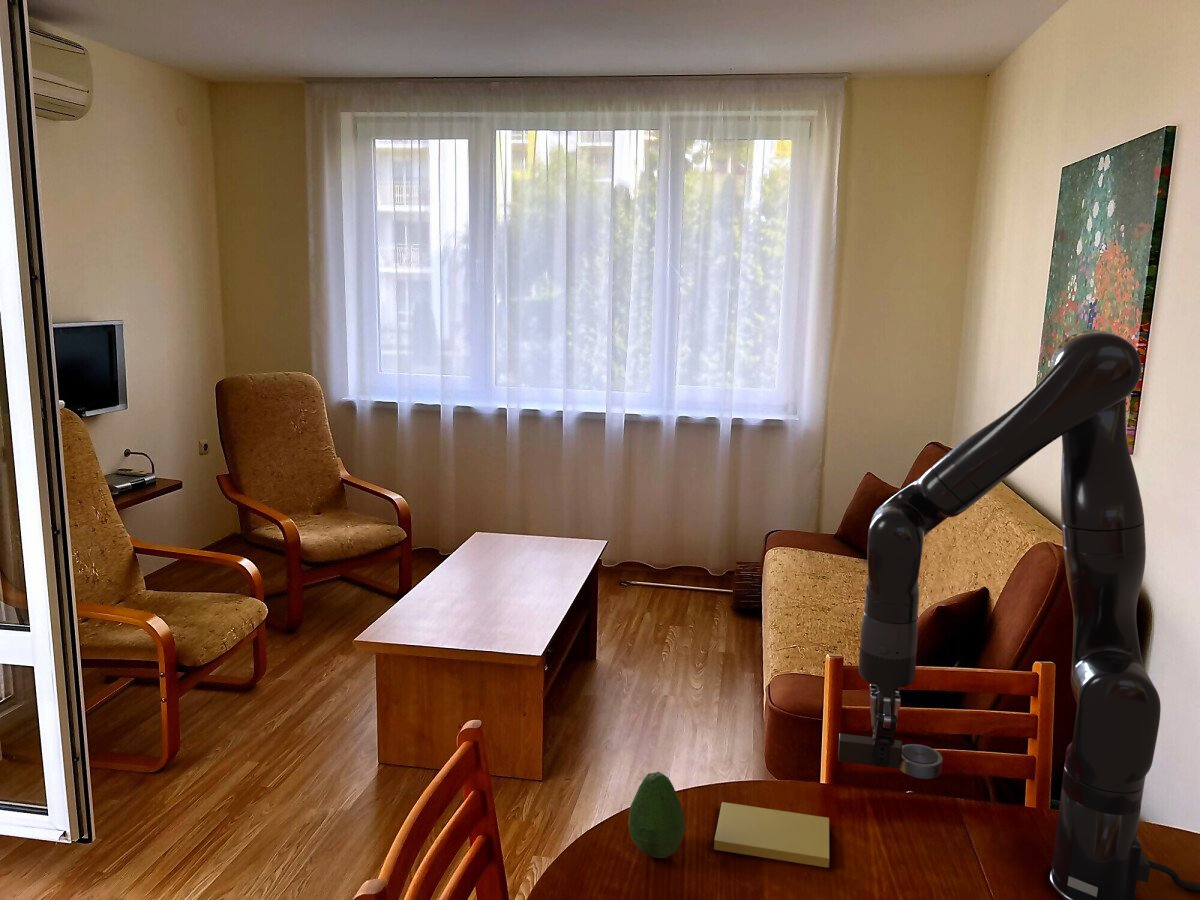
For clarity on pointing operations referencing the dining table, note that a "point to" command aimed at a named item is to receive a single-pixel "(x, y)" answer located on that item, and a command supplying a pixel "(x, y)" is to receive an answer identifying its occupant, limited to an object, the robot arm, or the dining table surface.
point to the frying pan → (892, 756)
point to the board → (773, 834)
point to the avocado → (656, 817)
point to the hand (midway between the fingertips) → (880, 759)
